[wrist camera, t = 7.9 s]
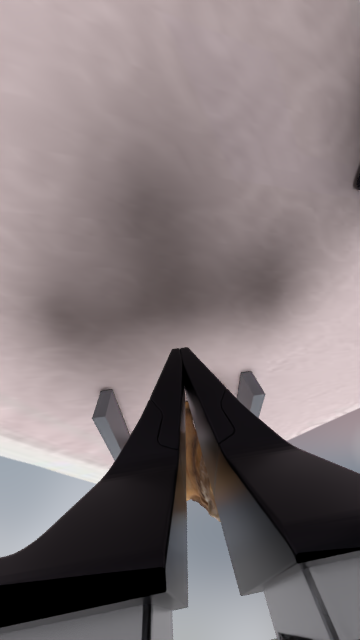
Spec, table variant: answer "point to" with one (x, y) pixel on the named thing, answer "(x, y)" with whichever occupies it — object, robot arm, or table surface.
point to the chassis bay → (116, 430)
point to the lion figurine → (197, 469)
